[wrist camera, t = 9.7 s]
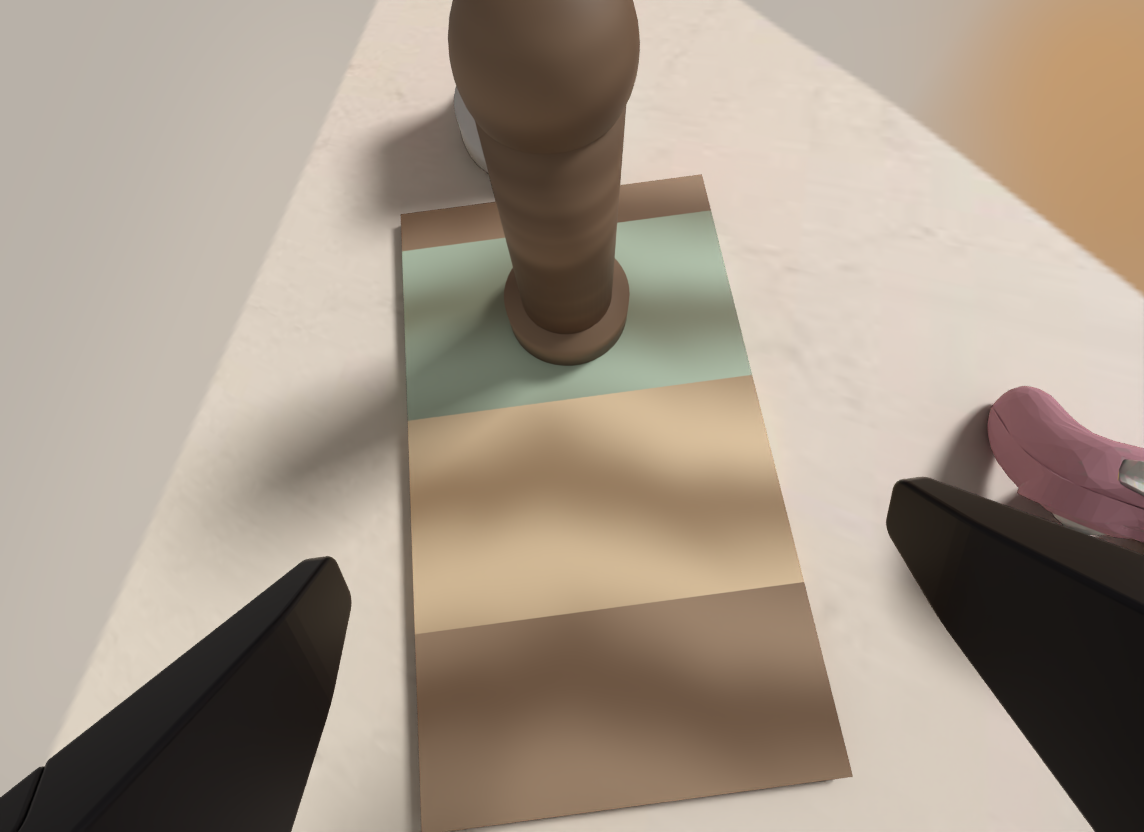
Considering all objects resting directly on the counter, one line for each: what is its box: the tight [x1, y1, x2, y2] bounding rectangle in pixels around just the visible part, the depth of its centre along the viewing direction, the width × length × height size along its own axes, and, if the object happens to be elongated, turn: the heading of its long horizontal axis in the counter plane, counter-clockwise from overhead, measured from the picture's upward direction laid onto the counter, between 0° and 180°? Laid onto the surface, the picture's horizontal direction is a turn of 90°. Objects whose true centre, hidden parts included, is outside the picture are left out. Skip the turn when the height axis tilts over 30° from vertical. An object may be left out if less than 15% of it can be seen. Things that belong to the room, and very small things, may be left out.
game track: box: [401, 174, 853, 832], centre depth 20 cm, size 24×14×1 cm, turn 7°
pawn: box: [448, 0, 640, 366], centre depth 15 cm, size 5×5×13 cm
